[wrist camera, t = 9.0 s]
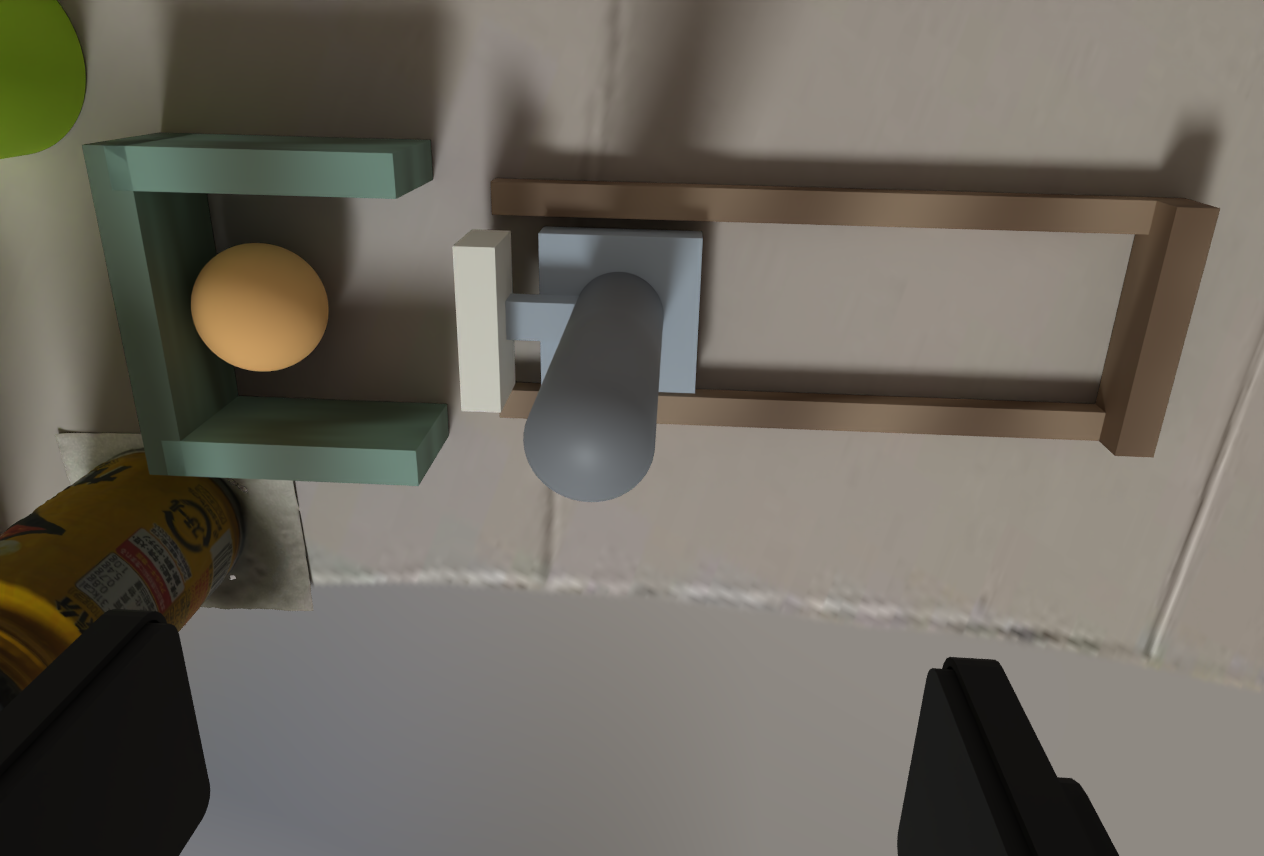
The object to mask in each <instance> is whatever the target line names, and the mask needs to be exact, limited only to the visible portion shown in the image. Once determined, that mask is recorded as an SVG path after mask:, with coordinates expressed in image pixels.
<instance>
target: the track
mask: <svg viewBox="0 0 1264 856" xmlns="http://www.w3.org/2000/svg"><path fill="white" fill-rule="evenodd" d="M491 203H492V215H518V216H551V217H584V218H617V219H650V220H683V221H716V222H749V223H782V224H815V225H848V226H882V227H915V228H948V229H981V230H1014V231H1047V232H1080V233H1113V234H1135V238H1134V242H1133V246H1132V251H1131V255H1130V259H1129V263H1128V268H1127V272H1126V276H1125V280H1124V285H1123V289H1122V293H1121V297H1120V302H1119V306H1118V310H1117V314H1116V318H1115V323H1114V327H1113V331H1112V335H1111V340H1110V344H1109V348H1108V352H1107V357H1106V361H1105V365H1104V369H1103V374H1102V378H1101V382H1100V386H1099V391H1098V395H1097V399H1096V403H1095V404H1083V403H1056V402H1030V401H1003V400H976V399H949V398H923V397H896V396H869V395H842V394H816V393H789V392H762V391H735V390H709V389H695V393H673V392H659V393H658V408H657V423H656V424H680V425H706V426H732V427H757V428H783V429H809V430H834V431H860V432H886V433H911V434H937V435H963V436H989V437H1014V438H1040V439H1066V440H1091V441H1100V442H1101V443H1102V444H1103V445H1104V446H1105V447H1106V448H1107V449H1108V450H1109V451H1110V452H1111V453H1113V454H1114V455H1115V456H1134V457H1154V453H1155V449H1156V446H1157V442H1158V438H1159V434H1160V431H1161V427H1162V423H1163V420H1164V416H1165V412H1166V408H1167V405H1168V401H1169V397H1170V393H1171V390H1172V386H1173V382H1174V379H1175V375H1176V371H1177V367H1178V364H1179V360H1180V356H1181V353H1182V349H1183V345H1184V341H1185V338H1186V334H1187V330H1188V326H1189V323H1190V319H1191V315H1192V312H1193V308H1194V304H1195V300H1196V297H1197V293H1198V289H1199V286H1200V282H1201V278H1202V274H1203V271H1204V267H1205V263H1206V260H1207V256H1208V252H1209V248H1210V245H1211V241H1212V237H1213V233H1214V230H1215V226H1216V222H1217V219H1218V215H1219V211H1220V208H1217V207H1213V206H1210V205H1206V204H1203V203H1200V202H1196V201H1193V200H1189V199H1186V198H1166V197H1131V196H1097V195H1062V194H1027V193H992V192H957V191H922V190H887V189H853V188H818V187H783V186H748V185H713V184H678V183H644V182H609V181H574V180H539V179H504V178H495V179H494V180H492V181H491ZM540 387H541V383H521V382H515V385H514V387H513V389H512V391H511V393H510V395H509V397H508V399H507V401H506V403H505V405H504V407H503V409H502V411H501V413H500V418H526V419H527V418H528V416H529V413H530V411H531V409H532V406H533V404H534V402H535V399H536V397H537V394H538V392H539V390H540Z"/></svg>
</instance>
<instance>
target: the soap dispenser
mask: <svg viewBox="0 0 1264 856" xmlns="http://www.w3.org/2000/svg"><path fill="white" fill-rule="evenodd" d="M85 87H86V74H85V64H84V58H83V54H82V50H81V46H80V43H79V40H78V37H77V35H76V32H75V30H74V28H73V26H72V24H71V22H70V20H69V18H68V16H67V15H66V13H65V12H64V10H63V8H62V7H61V6H60V4H59V3H58V1H57V0H0V159H3V158H9V157H16V156H22V155H28V154H33V153H37V152H40V151H42V150H45V149H47V148H49V147H51V146H53V145H54V144H56V143H57V142H58V141H60V140H61V139H62V138H63V137H64V136H65V135H66V134H67V133H68V132H69V130H70V129H71V128H72V126H73V125H74V123H75V122H76V120H77V118H78V116H79V113H80V111H81V108H82V105H83V101H84V95H85Z"/></svg>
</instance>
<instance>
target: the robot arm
mask: <svg viewBox="0 0 1264 856" xmlns="http://www.w3.org/2000/svg"><path fill="white" fill-rule="evenodd" d="M209 799H210V783H209V779H208V774H207V769H206V764H205V759H204V754H203V749H202V744H201V739H200V735H199V730H198V725H197V720H196V715H195V710H194V706H193V700H192V695H191V690H190V686H189V681H188V676H187V671H186V666H185V661H184V656H183V651H182V647H181V642H180V637H179V633H178V630H177V628H176V627H175V626H174V625H172V624H167V621H166V618H165V617H164V616H163V615H162V613H160V612H157V611H145V610H127V609H112V610H108V611H107V612H105V613H104V614H102V615H101V616H100V617H99V618H98V619H97V620H96V621H95V622H94V623H93V624H92V625H91V626H90V627H89V628H88V629H86V630H85V631H84V632H83V633H82V634H81V635H80V636H79V637H78V638H77V639H76V640H75V641H74V642H73V643H72V644H71V645H70V646H69V647H68V648H67V649H66V650H64V651H63V652H62V653H61V654H60V655H59V656H58V657H57V658H56V659H55V660H54V661H53V662H52V663H51V664H50V665H49V666H48V667H47V668H46V669H45V670H44V671H42V672H41V673H40V674H39V675H38V676H37V677H36V678H35V679H34V680H33V681H32V682H31V683H30V684H29V685H28V686H27V687H26V688H25V689H24V690H23V691H22V692H20V693H19V694H18V695H17V696H16V697H15V698H14V699H13V700H12V701H11V702H10V703H9V704H8V705H7V706H6V707H5V708H4V709H3V710H2V711H1V712H0V856H179V855H180V853H181V852H182V850H183V848H184V847H185V845H186V844H187V842H188V841H189V839H190V837H191V836H192V834H193V833H194V831H195V830H196V828H197V826H198V825H199V823H200V822H201V820H202V818H203V817H204V815H205V813H206V810H207V807H208V803H209ZM897 847H898V856H1119V854H1118V853H1117V851H1116V849H1115V847H1114V845H1113V843H1112V842H1111V839H1110V837H1109V836H1108V834H1107V832H1106V830H1105V828H1104V826H1103V824H1102V822H1101V821H1100V819H1099V817H1098V815H1097V813H1096V811H1095V809H1094V807H1093V805H1092V803H1091V802H1090V800H1089V798H1088V796H1087V794H1086V793H1085V791H1084V790H1083V788H1082V787H1081V785H1080V784H1079V783H1077V782H1076V781H1075V780H1073V779H1072V778H1059V777H1057V776H1056V774H1055V772H1054V770H1053V768H1052V766H1051V764H1050V762H1049V760H1048V758H1047V756H1046V754H1045V752H1044V750H1043V748H1042V746H1041V744H1040V742H1039V740H1038V738H1037V736H1036V734H1035V732H1034V730H1033V728H1032V726H1031V724H1030V722H1029V720H1028V718H1027V716H1026V714H1025V712H1024V710H1023V708H1022V706H1021V704H1020V702H1019V700H1018V698H1017V696H1016V694H1015V692H1014V690H1013V688H1012V686H1011V684H1010V682H1009V680H1008V678H1007V676H1006V674H1005V672H1004V670H1003V668H1002V666H1001V665H1000V663H999V662H998V661H996V660H991V659H974V658H957V657H949V658H947V659H946V661H945V662H944V665H943V668H942V669H936V668H932V669H930V670H929V672H928V675H927V679H926V684H925V690H924V695H923V701H922V706H921V711H920V716H919V722H918V728H917V733H916V738H915V744H914V749H913V754H912V760H911V765H910V771H909V776H908V781H907V787H906V792H905V798H904V803H903V808H902V814H901V820H900V825H899V830H898V840H897Z"/></svg>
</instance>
